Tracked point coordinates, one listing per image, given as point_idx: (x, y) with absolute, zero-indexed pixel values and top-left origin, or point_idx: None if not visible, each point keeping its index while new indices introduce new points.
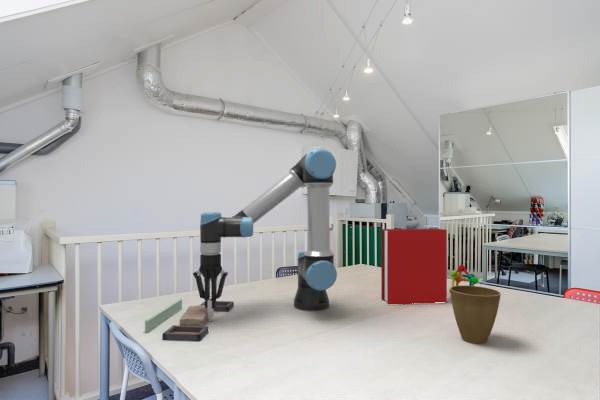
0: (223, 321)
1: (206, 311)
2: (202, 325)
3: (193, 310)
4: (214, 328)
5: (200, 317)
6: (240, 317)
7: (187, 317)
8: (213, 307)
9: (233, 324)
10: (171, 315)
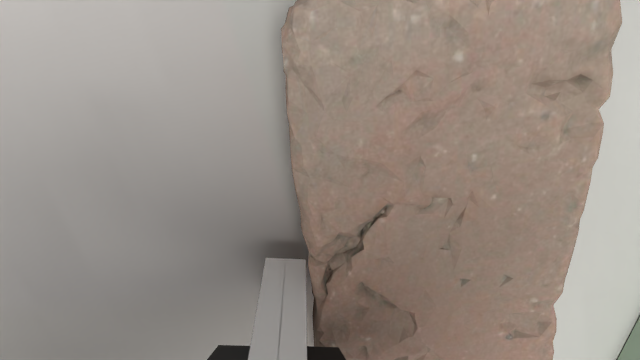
0: (166, 260)
1: (321, 312)
2: (288, 14)
3: (477, 335)
4: (176, 64)
5: (332, 71)
6: (60, 354)
7: (521, 46)
8: (229, 357)
9: (33, 187)
10: (628, 354)
